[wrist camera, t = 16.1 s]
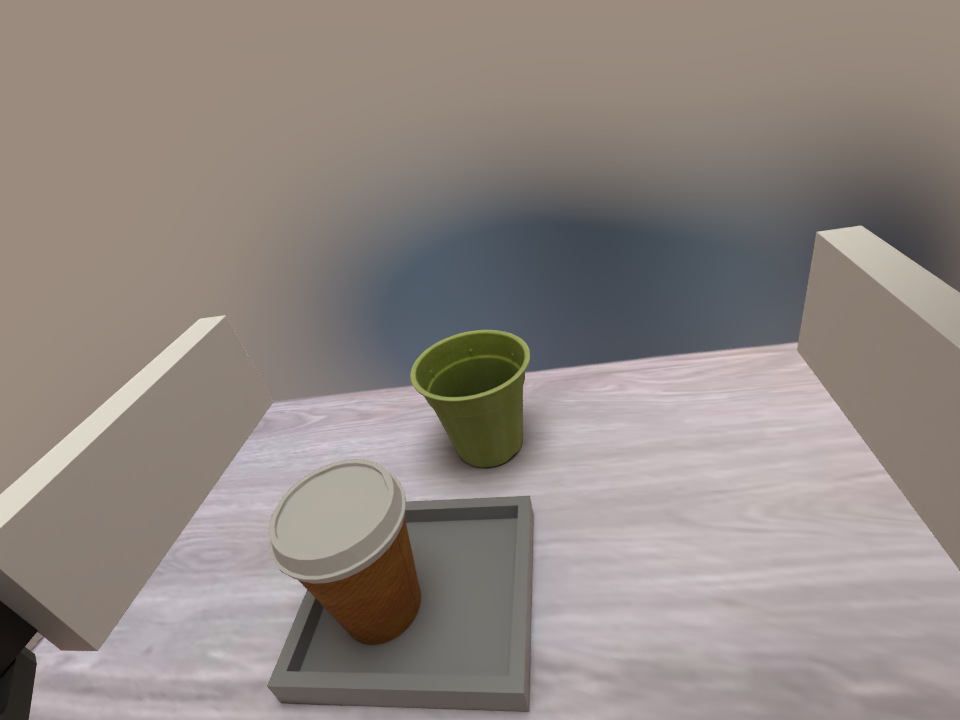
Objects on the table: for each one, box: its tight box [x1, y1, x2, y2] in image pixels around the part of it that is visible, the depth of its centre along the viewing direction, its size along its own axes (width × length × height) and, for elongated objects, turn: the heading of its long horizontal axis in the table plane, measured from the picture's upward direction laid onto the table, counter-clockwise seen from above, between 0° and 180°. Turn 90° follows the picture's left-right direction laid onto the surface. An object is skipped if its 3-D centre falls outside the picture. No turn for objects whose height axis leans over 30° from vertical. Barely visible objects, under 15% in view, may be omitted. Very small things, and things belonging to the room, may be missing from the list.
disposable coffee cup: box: [269, 459, 421, 645], centre depth 37 cm, size 10×10×12 cm
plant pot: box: [410, 330, 530, 467], centre depth 52 cm, size 12×12×11 cm
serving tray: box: [267, 496, 533, 711], centre depth 41 cm, size 18×16×2 cm
